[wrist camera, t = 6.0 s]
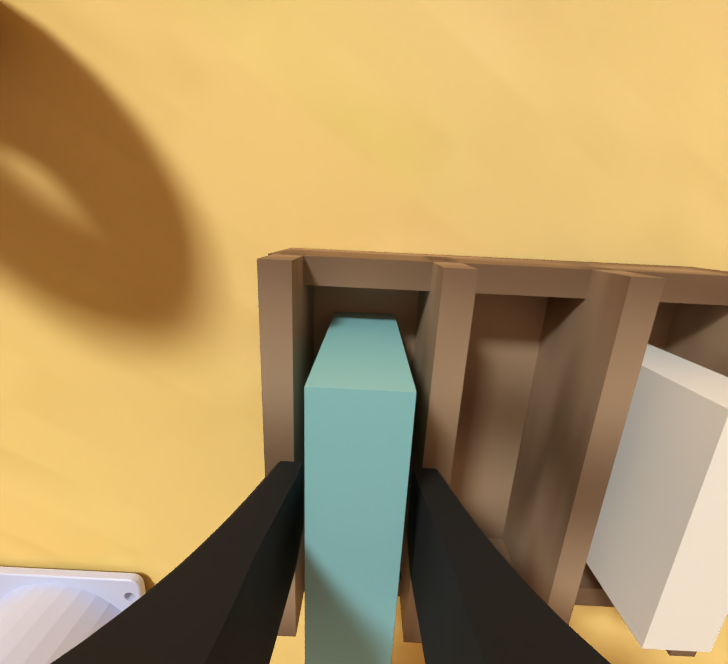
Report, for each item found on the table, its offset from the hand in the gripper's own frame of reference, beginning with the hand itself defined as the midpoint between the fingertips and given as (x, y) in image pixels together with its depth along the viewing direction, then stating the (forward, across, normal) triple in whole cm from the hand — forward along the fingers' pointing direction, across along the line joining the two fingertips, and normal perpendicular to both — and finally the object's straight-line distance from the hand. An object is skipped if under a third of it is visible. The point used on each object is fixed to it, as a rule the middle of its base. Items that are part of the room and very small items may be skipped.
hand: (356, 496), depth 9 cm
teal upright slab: (+4, 0, 0) cm, 4 cm away
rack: (+5, -4, 0) cm, 7 cm away
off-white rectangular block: (+4, -9, 0) cm, 9 cm away
